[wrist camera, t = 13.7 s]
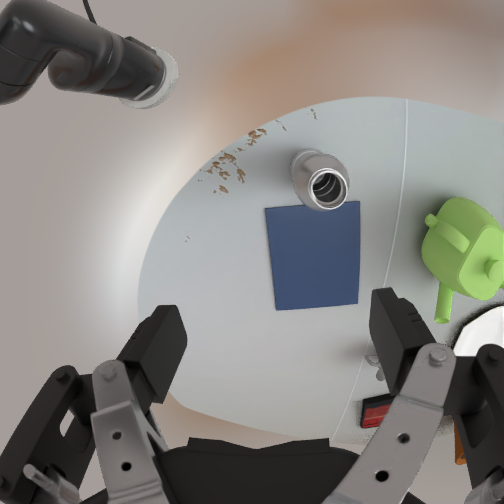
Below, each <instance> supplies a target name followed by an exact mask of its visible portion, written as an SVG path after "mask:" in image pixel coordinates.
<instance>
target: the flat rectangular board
mask: <svg viewBox="0 0 504 504" xmlns="http://www.w3.org/2000/svg"><path fill="white" fill-rule="evenodd" d="M265 212H266V221H267V229H268V238H269V246H270V255H271V264H272V273H273V282H274V292H275V301H276V310H292V309H306V308H318V307H329V306H340V305H350V304H358V292H359V271H360V201H355V202H344V203H343V204H342V205H341V206H339V207H337V208H335V209H332V210H328V211H316V210H313V209H310V208H309V207H307V206H305V205H299V206H287V207H276V208H265Z"/></svg>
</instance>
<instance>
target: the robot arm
mask: <svg viewBox="0 0 504 504" xmlns="http://www.w3.org/2000/svg"><path fill="white" fill-rule="evenodd" d="M83 3H84V6H85V9H86V12H87V14H88V17H89V20H90V21H89V20H87V19H85V18H83V17H81V16H79V15H77V14H74V13H72V12H70V11H68V10H66V9H64V8H61V7H60V6H58V5H56V4H53V3H51V2H49V1H47V0H11V1H10V2H9V3H8V4H7V5H6V6H5V8H4V9H3V11H2V12H1V13H0V105H5V104H9V103H12V102H16V101H18V100H19V99H21V98H22V97H23V96H24V95H25V94H26V93H27V92H28V91H29V90H30V89H31V87H32V86H33V85H34V83H35V82H36V80H37V79H38V77H39V76H40V75H41V73H42V72H43V70H44V69H45V68H46V67H47V65H48V76H49V79H50V81H51V83H52V84H53V86H54V87H56V88H57V89H60V90H64V91H74V92H82V93H91V94H99V95H105V96H112V97H118V98H124V99H128V100H132V101H144V100H147V99H149V98H151V97H152V96H154V95H155V94H156V93H157V92H158V91H159V90H160V89H161V87H162V86H163V84H164V81H165V78H166V72H167V71H166V65H165V62H164V61H163V59H162V58H161V57H159V56H158V55H157V54H156V50H154V49H152V48H151V47H149V46H147V45H145V44H144V43H142V42H140V41H138V40H136V39H135V38H133V37H131V36H130V37H126V38H123V37H121V36H119V35H117V34H115V33H113V32H111V31H108V30H106V29H104V28H102V27H100V26H98V25H97V24H96V21H95V19H94V17H93V14H92V12H91V9H90V7H89V4H88V1H87V0H83ZM369 329H370V335H371V338H372V341H373V344H374V346H375V349H376V352H377V355H378V358H379V361H380V364H381V367H382V370H383V373H384V376H385V379H386V382H387V385H388V388H389V392H390V395H391V396H393V395H396V397H395V398H394V400H393V402H392V404H391V406H390V408H389V410H388V411H387V413H386V415H385V417H384V418H383V420H382V422H381V423H380V425H379V427H378V429H377V430H376V432H375V433H374V435H373V437H372V438H371V440H370V441H369V443H368V444H367V446H366V448H365V449H364V451H363V452H362V453H361V455H358V454H356V453H354V452H351V451H348V450H345V449H341V448H336V447H330V446H329V438H325V439H314V440H301V441H291V442H287V443H283V444H279V445H274V446H270V447H265V448H261V449H252V448H248V447H244V446H240V445H236V444H232V443H229V442H225V441H222V440H211V439H201V438H191V437H189V441H188V444H187V446H183V447H177V448H174V449H171V450H170V449H169V448H168V446H167V445H166V443H165V440H164V438H163V436H162V434H161V431H160V429H159V427H158V424H157V422H156V420H155V417H154V415H153V412H152V410H151V409H150V405H151V403H152V402H153V403H161V404H163V402H164V399H165V397H166V395H167V392H168V390H169V387H170V385H171V383H172V380H173V378H174V375H175V373H176V371H177V368H178V366H179V363H180V361H181V359H182V356H183V354H184V352H185V349H186V347H187V334H186V331H185V328H184V325H183V322H182V319H181V316H180V313H179V310H178V308H177V306H176V305H159V306H157V307H156V309H155V310H154V312H153V313H152V315H151V316H150V317H147V318H146V319H145V320H144V321H142V322H141V323H140V324H139V325H138V327H137V328H136V330H135V333H133V334H132V336H131V337H130V339H129V340H128V342H127V343H126V345H125V346H124V348H123V349H122V351H121V353H120V354H119V355H118V357H117V358H116V360H108V361H105V362H104V363H102V364H100V365H99V366H97V368H96V369H95V370H94V371H93V374H86V375H79V374H78V372H77V371H76V369H75V368H74V367H73V366H70V365H66V366H62V367H60V368H58V369H56V370H55V371H54V372H53V373H52V374H51V376H50V377H49V379H48V380H47V382H46V383H45V384H44V386H43V387H42V389H41V390H40V392H39V393H38V395H37V396H36V398H35V399H34V401H33V402H32V404H31V405H30V407H29V408H28V410H27V412H26V413H25V415H24V416H23V418H22V420H21V421H20V423H19V425H18V426H17V428H16V430H15V431H14V433H13V435H12V436H11V438H10V440H9V442H8V443H7V445H6V447H5V449H4V451H3V452H2V454H1V456H0V501H2V502H3V503H5V504H425V503H424V502H422V501H421V500H420V499H418V498H417V497H415V496H414V495H413V494H411V493H410V492H408V490H409V488H410V487H411V485H412V483H413V481H414V479H415V477H416V475H417V474H418V472H419V469H420V468H421V466H422V463H423V461H424V459H425V457H426V455H427V453H428V451H429V448H430V446H431V443H432V441H433V439H434V437H435V434H436V432H437V429H438V426H439V424H440V421H441V418H442V416H443V415H453V418H454V421H455V424H456V427H457V430H458V434H459V437H460V440H461V444H462V447H463V451H464V455H465V459H466V463H467V467H468V471H469V476H470V480H471V485H472V491H471V492H470V493H469V494H468V496H467V497H466V500H465V503H464V504H504V348H503V347H501V346H499V345H497V344H485V345H483V346H481V347H480V348H479V350H478V352H477V354H476V356H456V355H455V353H454V352H453V350H452V349H451V348H449V347H448V346H446V345H444V344H440V343H437V342H436V341H435V339H434V337H433V335H432V334H431V332H430V330H429V329H428V327H427V326H426V324H425V322H424V321H422V318H421V316H420V314H418V311H417V310H416V308H415V307H414V305H413V304H412V303H411V302H409V301H408V300H406V299H405V298H399V299H398V297H397V296H396V294H395V292H394V291H393V289H392V288H391V287H389V288H381V289H374V290H373V291H372V297H371V309H370V319H369ZM68 409H69V410H70V411H71V413H73V415H74V416H75V417H74V419H73V420H72V422H71V424H70V426H69V428H68V430H67V432H66V434H65V436H64V437H63V436H62V434H61V432H60V424H61V422H62V420H63V418H64V416H65V414H66V413H67V411H68ZM95 448H96V450H97V454H98V458H99V462H100V467H101V471H102V474H103V478H104V481H105V485H106V488H105V489H104V490H102V491H100V492H98V493H97V494H95V495H93V496H91V497H89V498H88V499H86V500H84V501H82V500H81V499H80V498H79V492H78V490H79V488H80V485H81V483H82V480H83V478H84V475H85V473H86V470H87V468H88V465H89V463H90V460H91V458H92V455H93V453H94V451H95Z"/></svg>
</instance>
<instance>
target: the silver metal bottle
mask: <svg viewBox="0 0 504 504" xmlns="http://www.w3.org/2000/svg"><path fill="white" fill-rule="evenodd" d="M290 174H291V178H292V180H293V182H294V189H295V192H296V194H297V196H298V198H299V199H300V201H301V202H302V203H303V204H304V205H305V206H307V207H309V208H310V209H313V210H316V211H328V210H332V209H335V208H337V207H339V206H341V205H342V204H343V203H344V201H345V200H346V197H347V194H348V191H349V176H348V172H347V170H346V168H345V166H344V165H343V164H342V163H341V162H340V161H339V160H338V159H337V158H335V157H334V156H332V155H329V154H324V153H322V152H321V151H319V150H316V149H304V150H302V151H300V152H298V153H297V154H296V155H295V156H294V158H293V159H292V161H291V165H290Z"/></svg>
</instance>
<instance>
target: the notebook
mask: <svg viewBox="0 0 504 504" xmlns="http://www.w3.org/2000/svg"><path fill="white" fill-rule="evenodd" d="M395 397H396V395H393V396H391V395H390V394H386V395H382V396H378V397H373V398H369V399H364V401H363V409H362V417H361V424H360V426H361V428H371V427H378V426H379V425H380V423H381V422H382V420H383V418H384V417H385V415H386V413H387V411H388V410H389V408H390V406H391V404H392V402H393V400H394V398H395Z"/></svg>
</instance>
